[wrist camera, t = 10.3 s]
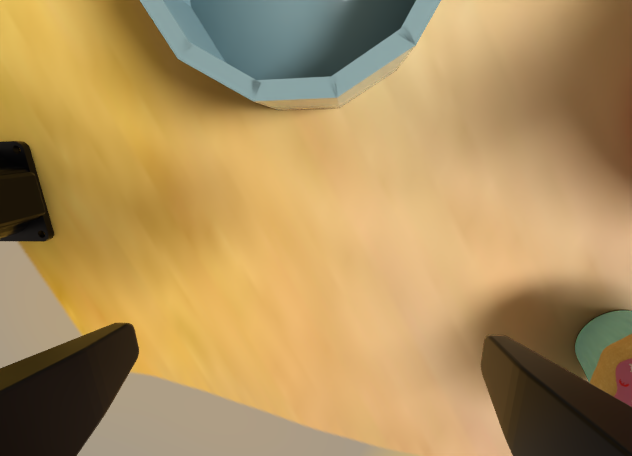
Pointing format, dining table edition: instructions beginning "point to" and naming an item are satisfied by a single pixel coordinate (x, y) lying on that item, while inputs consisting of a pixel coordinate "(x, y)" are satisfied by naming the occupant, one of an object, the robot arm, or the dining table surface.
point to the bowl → (293, 44)
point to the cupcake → (608, 353)
